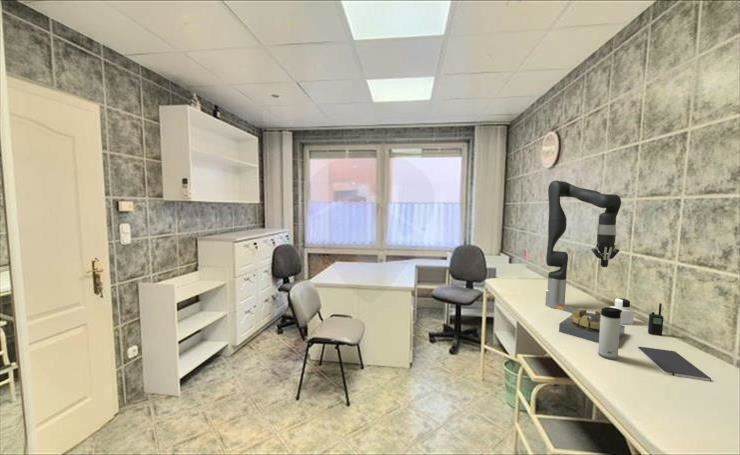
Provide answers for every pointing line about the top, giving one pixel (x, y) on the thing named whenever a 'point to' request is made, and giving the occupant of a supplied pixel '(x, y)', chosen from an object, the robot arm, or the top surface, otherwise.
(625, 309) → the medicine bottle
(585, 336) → the domed button plate
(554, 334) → the top surface
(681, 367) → the notebook
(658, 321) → the walkie-talkie
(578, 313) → the segmented ring
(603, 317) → the travel mug
